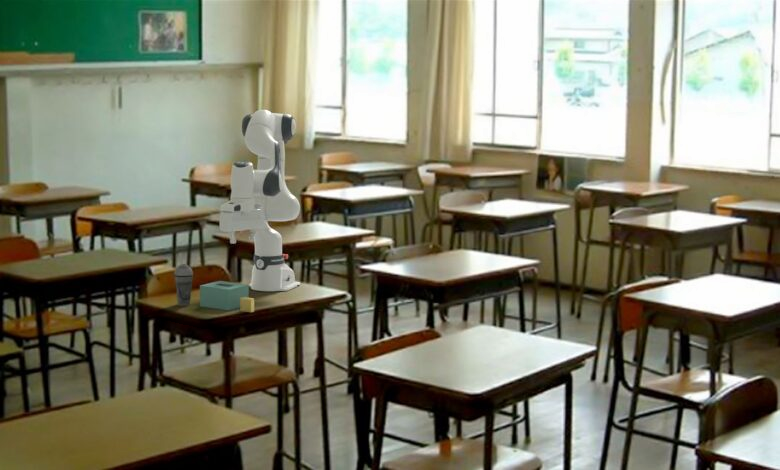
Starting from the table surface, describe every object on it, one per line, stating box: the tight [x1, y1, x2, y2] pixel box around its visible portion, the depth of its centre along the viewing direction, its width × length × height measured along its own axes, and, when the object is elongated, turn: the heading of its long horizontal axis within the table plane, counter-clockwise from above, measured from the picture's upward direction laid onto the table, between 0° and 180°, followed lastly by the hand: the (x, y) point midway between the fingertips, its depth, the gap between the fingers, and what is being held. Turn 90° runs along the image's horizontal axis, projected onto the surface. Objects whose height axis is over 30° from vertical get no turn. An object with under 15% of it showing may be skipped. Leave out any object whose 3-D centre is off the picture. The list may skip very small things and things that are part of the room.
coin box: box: [199, 280, 250, 311], centre depth 460 cm, size 12×14×8 cm
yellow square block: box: [239, 297, 255, 313], centre depth 451 cm, size 2×5×5 cm, turn 60°
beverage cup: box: [173, 252, 194, 307], centre depth 460 cm, size 7×7×20 cm
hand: (242, 242), depth 450 cm, fingers open, 8 cm apart
